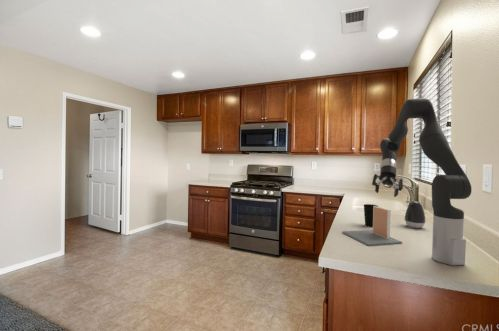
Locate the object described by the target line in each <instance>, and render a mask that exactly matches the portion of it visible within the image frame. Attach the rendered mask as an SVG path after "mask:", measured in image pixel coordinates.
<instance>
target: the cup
mask: <svg viewBox="0 0 499 331" xmlns="http://www.w3.org/2000/svg"><path fill="white" fill-rule="evenodd" d="M373 206H378V204H373V203H372V204H370V203H365V204H363V214H364V226H365V225H366V226H365V227H368V226H369V228H373Z"/></svg>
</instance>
